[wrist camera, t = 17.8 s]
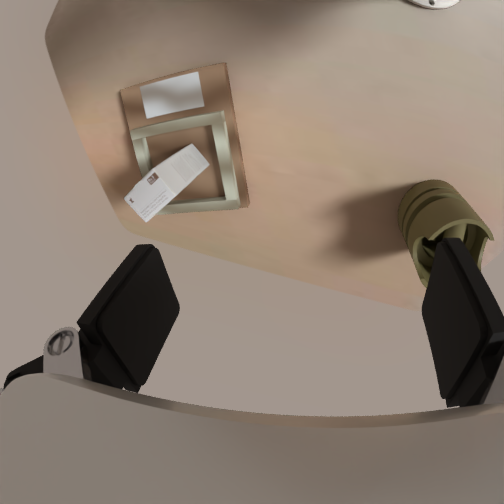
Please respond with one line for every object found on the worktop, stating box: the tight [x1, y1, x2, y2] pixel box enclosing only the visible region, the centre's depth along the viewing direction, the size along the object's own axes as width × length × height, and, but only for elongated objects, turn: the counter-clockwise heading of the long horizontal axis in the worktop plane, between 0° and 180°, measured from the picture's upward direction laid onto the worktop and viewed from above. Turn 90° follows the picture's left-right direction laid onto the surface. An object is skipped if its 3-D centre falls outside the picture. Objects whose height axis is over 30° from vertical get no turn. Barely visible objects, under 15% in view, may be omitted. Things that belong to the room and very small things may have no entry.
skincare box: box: [124, 143, 210, 222], centre depth 37 cm, size 6×4×12 cm
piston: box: [398, 180, 494, 288], centre depth 36 cm, size 11×12×11 cm
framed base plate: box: [120, 63, 250, 215], centre depth 41 cm, size 21×16×3 cm
